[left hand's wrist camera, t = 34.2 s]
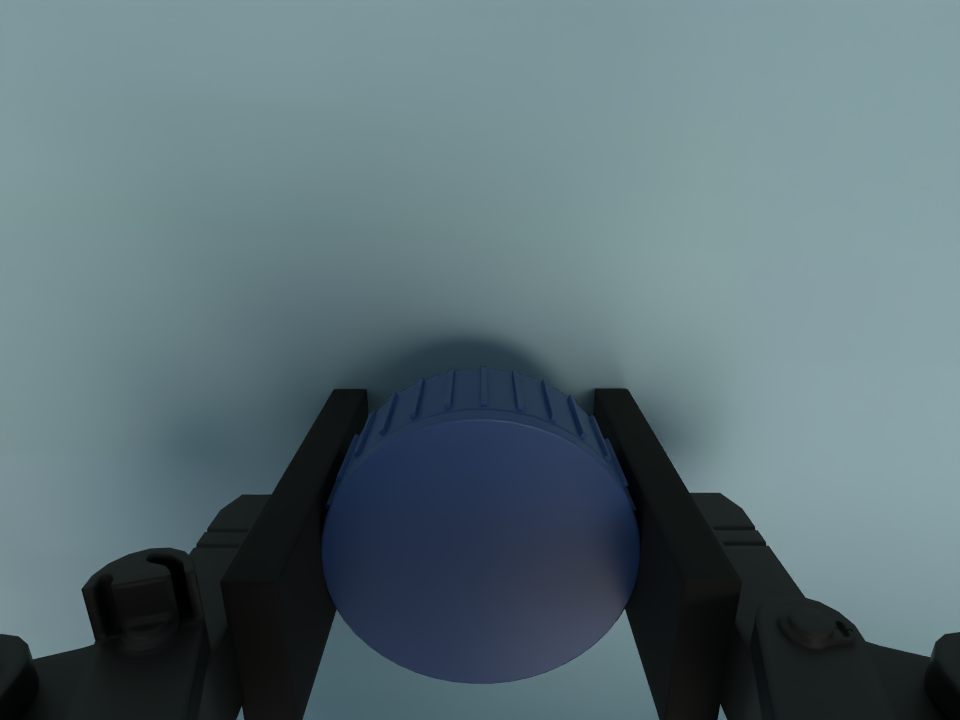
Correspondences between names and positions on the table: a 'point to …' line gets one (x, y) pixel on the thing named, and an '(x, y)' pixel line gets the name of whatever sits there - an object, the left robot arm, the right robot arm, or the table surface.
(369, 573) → the lid
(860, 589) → the table surface
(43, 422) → the table surface
